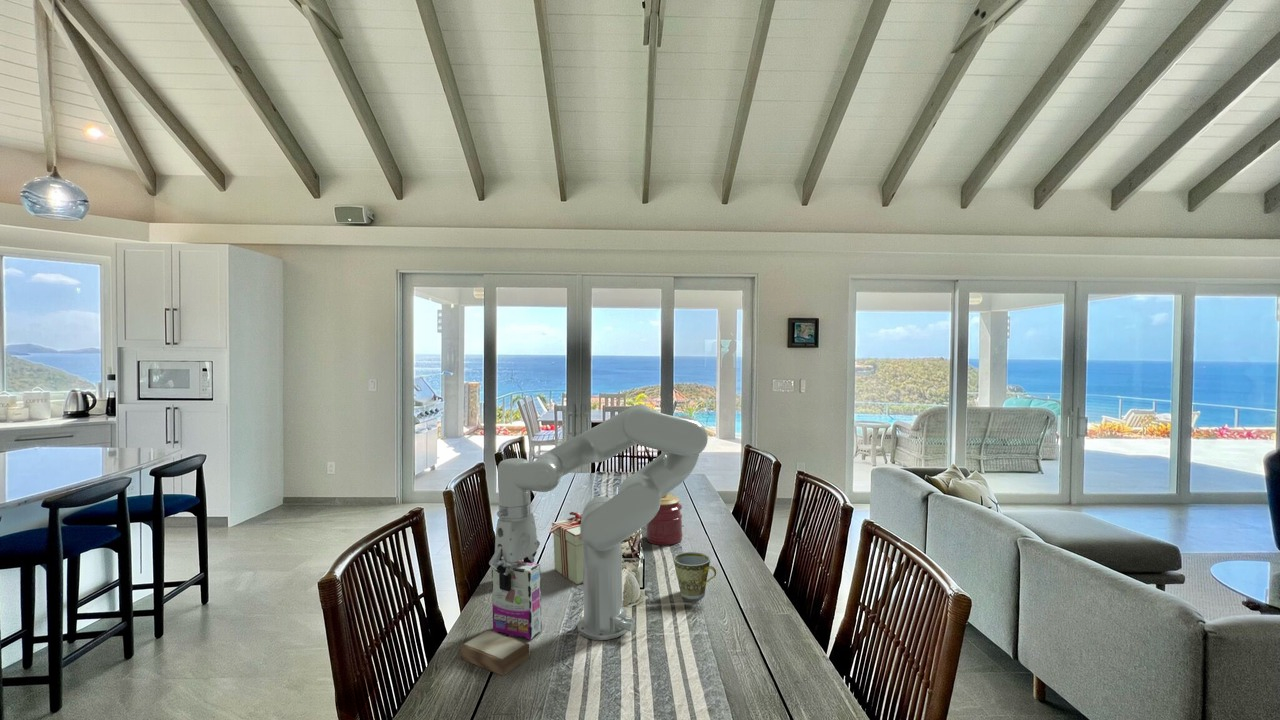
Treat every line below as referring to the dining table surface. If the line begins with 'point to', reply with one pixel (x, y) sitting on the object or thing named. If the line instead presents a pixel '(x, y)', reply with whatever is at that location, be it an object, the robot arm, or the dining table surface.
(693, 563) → the ceramic cup
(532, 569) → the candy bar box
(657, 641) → the dining table surface
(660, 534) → the canister
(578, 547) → the gift box
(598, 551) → the robot arm
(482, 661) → the walnut plinth
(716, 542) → the dining table surface
